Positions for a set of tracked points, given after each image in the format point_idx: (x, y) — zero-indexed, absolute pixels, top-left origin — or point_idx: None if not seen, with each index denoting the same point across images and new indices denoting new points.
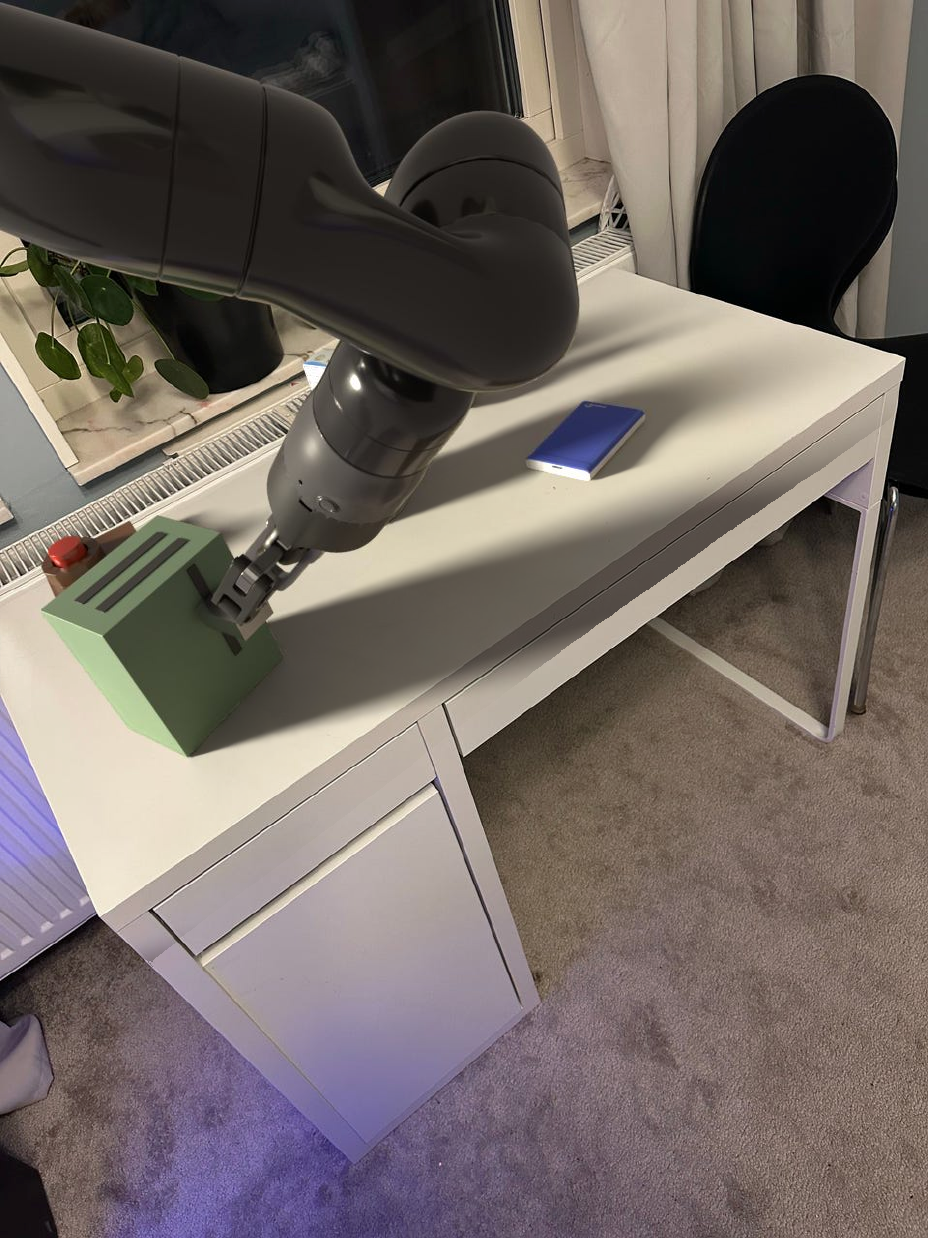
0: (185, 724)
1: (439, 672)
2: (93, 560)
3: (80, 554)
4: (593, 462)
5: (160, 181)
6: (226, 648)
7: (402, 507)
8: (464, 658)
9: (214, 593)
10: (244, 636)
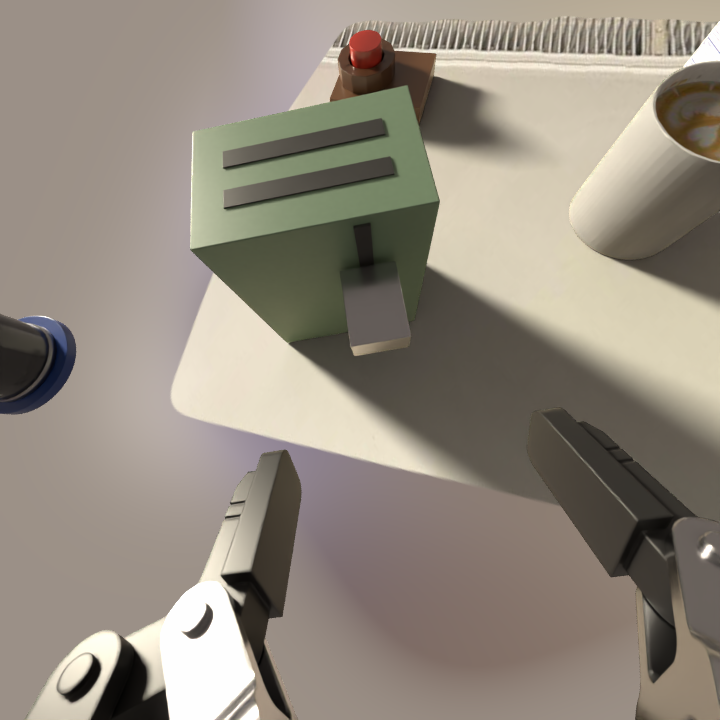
0: (291, 330)
1: (498, 482)
2: (376, 78)
3: (371, 62)
4: None
5: None
6: None
7: (649, 255)
8: (530, 494)
9: (57, 685)
10: (354, 354)
